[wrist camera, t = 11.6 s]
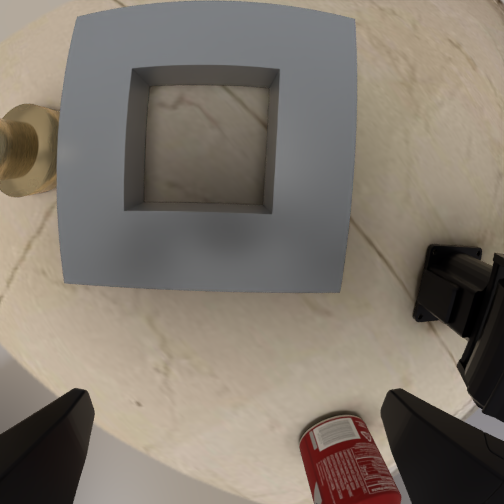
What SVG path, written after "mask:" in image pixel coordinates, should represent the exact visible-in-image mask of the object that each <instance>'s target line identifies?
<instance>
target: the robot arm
mask: <svg viewBox="0 0 504 504" xmlns="http://www.w3.org/2000/svg"><path fill="white" fill-rule="evenodd" d="M434 249H435V251H434V253H433V250H434ZM477 252H478V253H477ZM481 256H482V249H481V248H478V247H472V246H456V245H440V244H431V245H430V246H429V248H428V251H427V256H426V262H425V267H424V272H423V277H422V281H421V286H420V290H419V295H418V299H417V303H416V307H415V311H414V315H413V318H414V320H416V321H417V322H426V321H435V320H440V321H441V322H443V323H444V324H446V325H447V326H449V327H450V328H451V329H452V330H454V331H455V332H456V333H457V334H458V335H460V336H461V337H462V338H465V339H466V340H467V341H468V343H467V346H466V348H465V350H464V353H463V355H462V358H461V359H460V360H459V362H458V364H457V368H458V370H459V372H460V374H461V376H462V378H463V380H464V382H465V384H466V386H467V391H468V394H469V395H470V396H471V397H472V399H473V401H474V402H475V403H476V405H477V406H478V407H479V408H481V409H482V413H484V414H486V415H489V416H492V417H495V418H496V419H498V420H500V421H502V422H504V254H500V253H494V258H493V261H494V263H493V266H492V265H489V264H487V263H485V262H483V261H481ZM419 315H420V316H419ZM418 316H419V317H418ZM94 415H95V412H94V408H93V405H92V402H91V399H90V396H89V393H88V391H87V390H84V389H79V388H74V389H72V390H70V391H69V392H67V393H66V394H64V395H63V396H61V397H59V398H58V399H56V400H55V401H53V402H51V403H50V404H48V405H47V406H45V407H44V408H42V409H41V410H39V411H37V412H36V413H34V414H32V415H31V416H29V417H28V418H26V419H24V420H23V421H21V422H20V423H18V424H16V425H15V426H13V427H11V428H10V429H8V430H7V431H5V432H3V433H2V434H0V504H73V501H74V497H75V494H76V490H77V487H78V483H79V480H80V476H81V473H82V470H83V466H84V463H85V459H86V456H87V451H88V446H89V440H90V435H91V430H92V426H93V421H94ZM381 418H382V421H383V424H384V428H385V431H386V435H387V438H388V442H389V445H390V449H391V452H392V455H393V457H394V460H395V462H396V465H397V467H398V470H399V472H400V474H401V477H402V479H403V482H404V484H405V487H406V490H407V492H408V495H409V497H410V500H411V502H412V504H504V441H502V440H500V439H498V438H496V437H494V436H492V435H489V434H488V433H485V432H483V431H481V430H479V429H477V428H475V427H473V426H471V425H469V424H467V423H465V422H463V421H461V420H459V419H458V418H456V417H454V416H452V415H450V414H448V413H446V412H444V411H442V410H440V409H438V408H436V407H435V406H433V405H431V404H429V403H427V402H425V401H423V400H421V399H420V398H418V397H416V396H414V395H412V394H410V393H408V392H407V391H405V390H403V389H401V388H398V389H392V390H389V391H388V392H387V394H386V397H385V400H384V402H383V405H382V407H381Z"/></svg>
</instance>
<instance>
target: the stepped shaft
mask: <svg viewBox="0 0 504 504" xmlns="http://www.w3.org/2000/svg"><path fill="white" fill-rule="evenodd" d="M59 117H60V112H58V111H56V110H52V109H49V108H45V107H41V106H38V105H34V104H22V105H19V106H17V107H15V108H13V109H12V110H10V111H9V112H8V113H7V114H6V115H5V116H4V117H3V118H2V119H0V190H1V191H2V192H3V193H4V194H6V195H8V196H11V197H23V196H27V195H32V194H37V193H42V192H47V191H50V190H52V189H54V188H55V187H57V145H58V129H59Z"/></svg>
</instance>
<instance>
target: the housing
mask: <svg viewBox="0 0 504 504" xmlns="http://www.w3.org/2000/svg"><path fill="white" fill-rule="evenodd" d="M164 85H233V86H251V87H265V88H269V108H268V127H267V146H266V164H265V182H264V200H263V205H249V204H221V203H178V202H144V163H145V140H146V124H147V110H148V99H149V88H150V86H164ZM356 120H357V50H356V27H355V19H353V18H349V17H345V16H341V15H336V14H332V13H327V12H322V11H317V10H311V9H305V8H299V7H292V6H285V5H277V4H268V3H257V2H242V1H179V2H165V3H154V4H145V5H137V6H129V7H123V8H117V9H111V10H106V11H101V12H96V13H91V14H87V15H83V16H79V17H77V19H76V23H75V27H74V31H73V35H72V40H71V44H70V49H69V54H68V59H67V65H66V71H65V77H64V83H63V90H62V98H61V107H60V117H59V129H58V145H57V213H58V229H59V242H60V252H61V261H62V269H63V277H64V283H68V284H81V285H95V286H110V287H126V288H144V289H165V290H189V291H220V292H271V293H340V290H341V284H342V277H343V270H344V263H345V255H346V248H347V239H348V231H349V222H350V212H351V202H352V190H353V178H354V163H355V146H356Z"/></svg>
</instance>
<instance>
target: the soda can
mask: <svg viewBox="0 0 504 504" xmlns="http://www.w3.org/2000/svg"><path fill="white" fill-rule="evenodd" d="M299 448H300V452H301V456H302V459H303V463H304V467H305V471H306V475H307V478H308V482H309V486H310V490H311V493H312V497H313V501H314V504H400V503H401V494H400V492H399V490H398V488H397V486H396V484H395V482H394V481H393V478H392V476H391V474H390V472H389V470H388V468H387V466H386V464H385V462H384V460H383V458H382V456H381V454H380V452H379V450H378V448H377V446H376V444H375V442H374V440H373V438H372V436H371V434H370V432H369V430H368V428H367V426H366V424H365V422H364V421H363V420H362V419H361V418H359V417H357V416H353V415H339V416H334V417H331V418H328V419H325V420H323V421H321V422H319V423H317V424H315V425H314V426H312V427H311V428H310V429H309V430H307V431H306V432H305V434H304V435H303V436H302V438H301V440H300V443H299Z"/></svg>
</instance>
